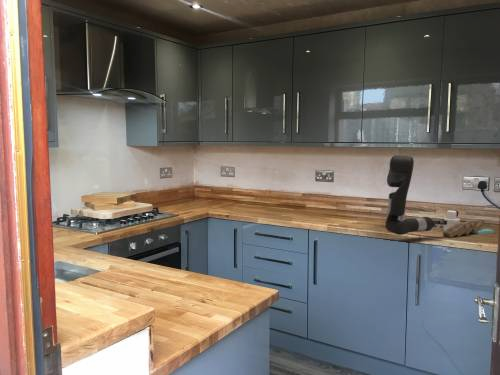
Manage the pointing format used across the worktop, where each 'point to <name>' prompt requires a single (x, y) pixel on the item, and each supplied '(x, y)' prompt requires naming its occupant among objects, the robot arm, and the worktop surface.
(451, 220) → the medicine bottle
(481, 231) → the domino
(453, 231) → the domino
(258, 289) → the worktop surface
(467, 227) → the domino
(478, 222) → the domino
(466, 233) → the domino
